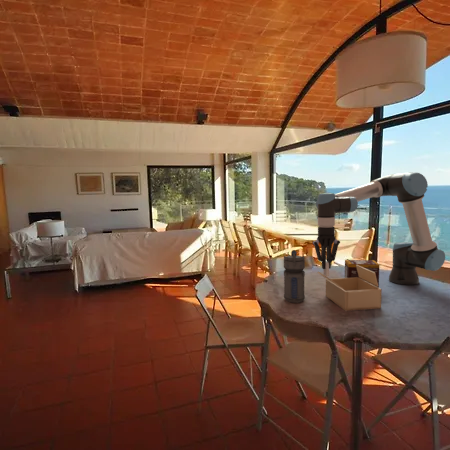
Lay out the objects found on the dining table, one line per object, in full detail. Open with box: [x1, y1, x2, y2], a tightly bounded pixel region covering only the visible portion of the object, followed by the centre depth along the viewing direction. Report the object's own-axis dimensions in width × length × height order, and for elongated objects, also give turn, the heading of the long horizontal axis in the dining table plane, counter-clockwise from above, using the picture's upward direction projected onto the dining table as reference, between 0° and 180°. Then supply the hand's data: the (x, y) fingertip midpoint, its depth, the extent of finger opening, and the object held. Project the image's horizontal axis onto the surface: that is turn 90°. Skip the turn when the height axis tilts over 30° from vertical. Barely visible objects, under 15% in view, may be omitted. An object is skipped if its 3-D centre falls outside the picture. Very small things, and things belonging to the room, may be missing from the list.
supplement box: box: [344, 259, 380, 288], centre depth 162 cm, size 10×15×16 cm
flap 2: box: [356, 265, 378, 286], centre depth 145 cm, size 1×16×7 cm, turn 5°
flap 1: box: [317, 271, 343, 289], centre depth 143 cm, size 1×16×7 cm
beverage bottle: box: [283, 249, 306, 304], centre depth 149 cm, size 10×13×25 cm
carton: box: [325, 277, 383, 312], centre depth 145 cm, size 17×21×9 cm
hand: (326, 275), depth 142 cm, fingers closed
